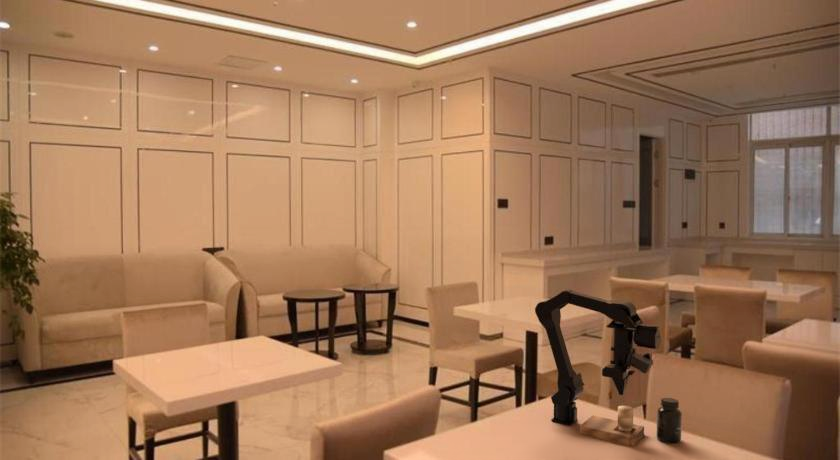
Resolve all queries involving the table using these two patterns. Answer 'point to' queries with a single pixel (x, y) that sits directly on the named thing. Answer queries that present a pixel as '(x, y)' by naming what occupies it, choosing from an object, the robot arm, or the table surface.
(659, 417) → the supplement bottle
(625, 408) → the peg
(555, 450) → the table surface
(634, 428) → the board
